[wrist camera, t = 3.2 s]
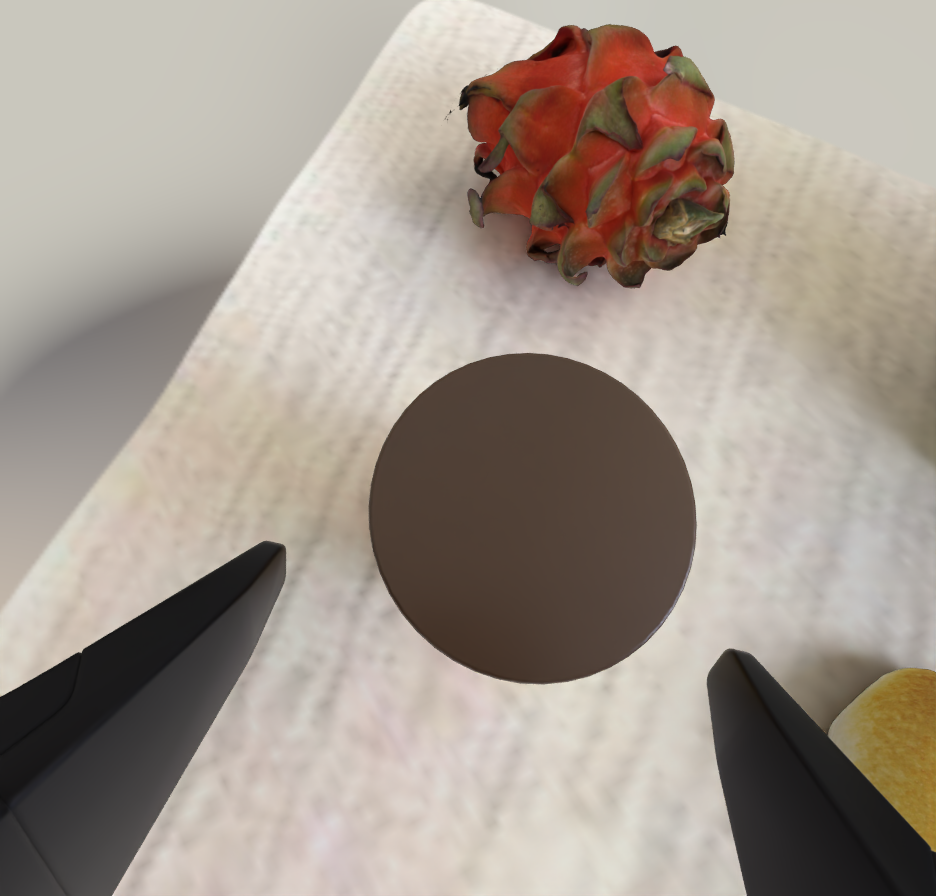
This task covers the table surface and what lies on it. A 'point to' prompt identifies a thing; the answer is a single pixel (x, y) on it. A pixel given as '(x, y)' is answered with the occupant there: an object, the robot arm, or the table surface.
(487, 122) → the dragon fruit
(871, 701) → the bread roll
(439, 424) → the tube
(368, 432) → the table surface
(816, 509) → the table surface
